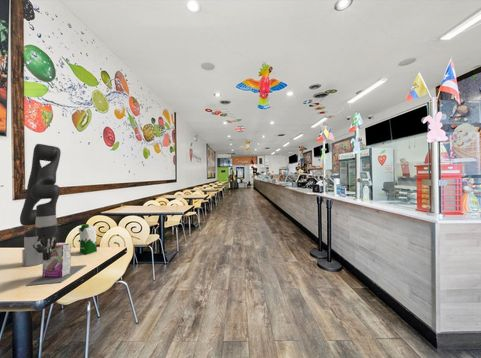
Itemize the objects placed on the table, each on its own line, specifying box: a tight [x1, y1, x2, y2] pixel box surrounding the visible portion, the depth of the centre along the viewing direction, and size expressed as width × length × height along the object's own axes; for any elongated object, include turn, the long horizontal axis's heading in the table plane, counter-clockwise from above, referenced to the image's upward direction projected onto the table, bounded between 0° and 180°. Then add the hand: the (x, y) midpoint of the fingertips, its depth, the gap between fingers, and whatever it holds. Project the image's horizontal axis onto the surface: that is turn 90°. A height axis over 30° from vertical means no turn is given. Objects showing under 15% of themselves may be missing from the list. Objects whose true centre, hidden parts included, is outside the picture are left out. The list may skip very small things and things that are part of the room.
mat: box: [25, 264, 87, 287], centre depth 105 cm, size 15×20×1 cm
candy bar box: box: [42, 242, 72, 277], centre depth 104 cm, size 11×5×16 cm, turn 86°
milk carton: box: [78, 223, 98, 256], centre depth 139 cm, size 9×9×20 cm
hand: (46, 259), depth 97 cm, fingers closed
